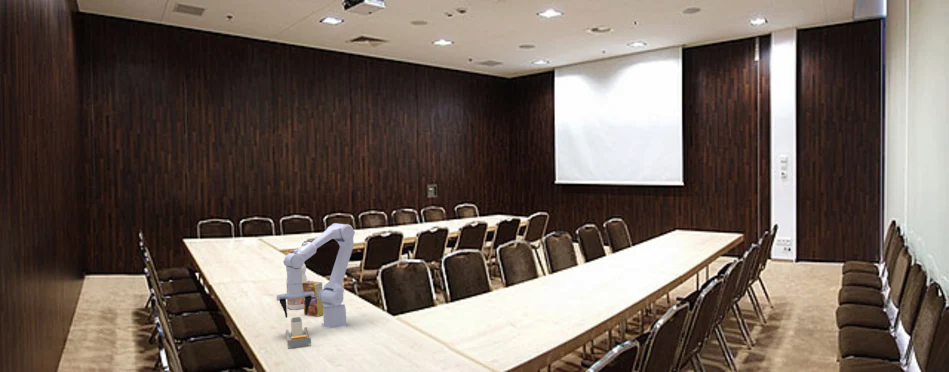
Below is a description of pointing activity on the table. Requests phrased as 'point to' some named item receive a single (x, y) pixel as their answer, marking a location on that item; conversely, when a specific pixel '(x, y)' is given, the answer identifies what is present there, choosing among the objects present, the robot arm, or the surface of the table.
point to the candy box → (313, 298)
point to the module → (296, 326)
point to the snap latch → (298, 337)
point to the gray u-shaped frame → (298, 340)
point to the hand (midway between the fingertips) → (296, 315)
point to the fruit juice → (297, 302)
